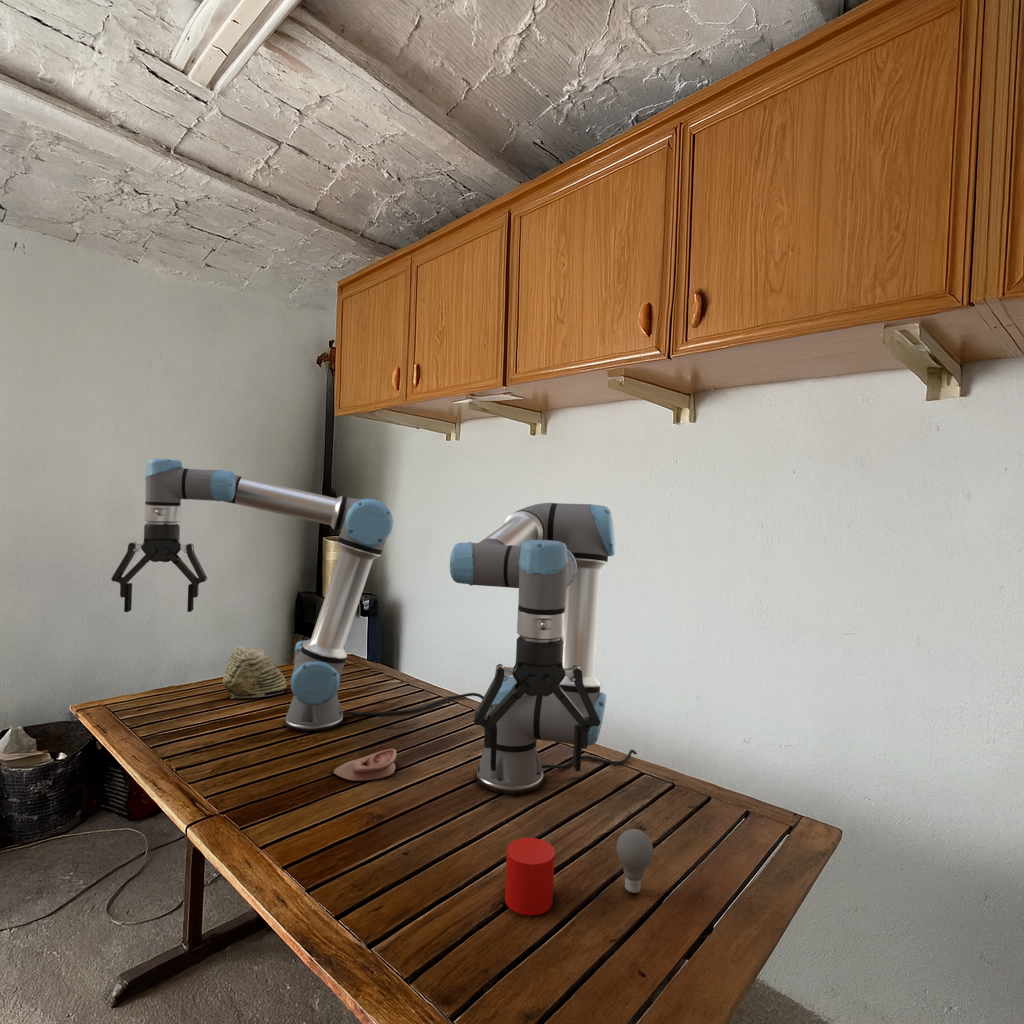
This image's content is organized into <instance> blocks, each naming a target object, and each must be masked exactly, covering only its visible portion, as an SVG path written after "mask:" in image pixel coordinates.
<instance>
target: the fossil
mask: <svg viewBox="0 0 1024 1024" xmlns="http://www.w3.org/2000/svg"><path fill="white" fill-rule="evenodd" d="M222 676H223V677H222V685H223V687H224V688H225V690H226V691H228V693H229V698H230V699H250V698H264V697H271V696H275V695H281V694H284V693H285V691H286V689H287V687H288V686H287V680H286V678H285V676H284V674H283V673H282V672H281V669H279V668H278V667H277V665H276V663H275V662H274V660H273V659H272V658H271V657H270V656H269V655H268V654H267V653H266V652H265V650H264V649H263V648H260V647H258V648H251V647H247V646H246V647H245V646H238V647H237V648H236V649H235V650H233V651H232V653H231V656H230V657H229V659H228V660H227V663H226V666H225V668H224V671H223V675H222Z"/></svg>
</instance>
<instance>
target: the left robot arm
mask: <svg viewBox="0 0 1024 1024" xmlns="http://www.w3.org/2000/svg"><path fill="white" fill-rule="evenodd" d="M144 479H145V502H144V521H145V522H146V523H145V524H144V525H143V542H142V543H137V542H136V541H133V542H132V541H131V542H129V543H128V544H127V550H126V552H125V554H124V557H123V558H122V560H121V561H120V563H119V565H118V566H117V568H116V570H115V571H114V574H113V575H112V576H111V578H110V580H111V581H112V582H116V583H118V584H119V596H120V598H124V606H123V607H124V608H123V612H124V613H129V612H131V611H132V603H133V582H130V581H131V580H132V579H133V577H135V576H136V575H137V574H138V573H139V572H140V571H141V570H142V569H143V568H144V567H145V566H146V565H147V564H148V563H149V562H150V561H151V562H152V563H158V562H162V563H169V562H171V563H172V564H173V565H175V566H176V568H178V570H179V571H180V572H181V573H182V574H183V575H184V577H185V578H186V579H187V580H188V581H189V584H188V585H187V609H186V610H187V613H192V612H193V611H194V601H195V600H194V599H195V598H198V597H199V590H200V589H199V587H200V584H201V583H204V582H206V581H207V580H208V576H207V574H206V572H205V571H204V569H203V567H202V565H201V562H200V561H199V558H198V557H197V555H196V552H195V545H194V543H187V544H181V541H180V534H181V533H180V532H181V525H180V524H178V523H180V522H181V507H182V506H181V505H182V504H181V503H182V500H196V501H213V502H214V501H216V502H224V503H230V504H234V505H239V506H243V507H247V508H252V509H256V510H260V511H265V512H271V513H274V514H279V515H284V516H288V517H293V518H297V519H301V520H306V521H310V522H314V523H319V524H323V525H328V526H330V527H331V529H332V530H333V531H334V530H335V531H338V532H340V533H339V536H338V539H337V542H336V543H337V545H338V547H339V550H340V552H339V555H338V558H337V561H336V564H335V566H334V570H333V572H332V575H331V579H330V581H329V584H328V588H327V590H326V593H325V596H324V600H323V602H322V605H321V608H320V610H319V614H318V617H317V620H316V623H315V626H314V628H313V631H312V634H311V638H310V639H306V640H305V639H304V640H299V641H298V642H296V643H295V648H294V650H293V651H294V666H293V669H292V674H291V676H290V681H289V682H290V683H289V685H290V689H291V692H292V694H293V695H292V696H293V697H292V699H291V702H290V704H289V708H287V709H286V715H285V726H286V728H287V729H289V730H291V731H294V732H295V731H296V732H301V733H316V732H325V731H329V730H332V729H335V728H337V727H339V726H340V725H342V723H343V722H344V715H345V716H355V717H356V716H359V717H360V716H361V717H370V716H373V717H375V716H389V715H390V716H391V715H400V714H409V713H410V714H411V713H416V712H419V711H423V710H426V709H429V708H431V707H433V706H436V705H439V704H441V703H444V702H446V701H451V700H454V699H455V700H456V699H462V698H466V697H467V698H468V697H478V698H480V699H481V700H482V699H483V698H484V696H485V695H483V694H481V693H477V692H468V693H462V694H457V695H451V696H447V697H444V698H442V699H439V700H435V701H433V702H430V703H428V704H426V705H423V706H420V707H415V708H410V709H402V710H391V711H390V710H389V711H371V712H370V711H369V712H368V711H367V712H366V711H365V712H360V711H358V712H357V711H349V710H348V711H345V710H343V709H342V706H341V702H340V699H339V695H338V691H339V689H340V687H341V686H340V685H341V676H342V673H343V670H344V667H345V664H346V660H347V658H348V654H347V651H346V650H345V645H346V642H347V639H348V636H349V633H350V631H351V627H352V624H353V621H354V618H355V616H356V613H357V609H358V606H359V603H360V601H361V597H362V594H363V591H364V588H365V585H366V582H367V581H368V580H367V579H368V576H369V573H370V570H371V568H372V564H373V561H374V560H376V559H378V558H379V557H381V556H382V553H383V550H384V547H385V544H386V542H387V539H388V538H389V536H390V535H391V533H392V530H393V525H394V519H393V515H392V512H391V511H390V508H389V507H388V506H387V505H386V504H385V503H384V502H382V501H381V500H377V499H375V498H357V497H356V498H354V497H348V496H345V495H344V496H343V495H340V496H338V497H337V498H336V497H332V496H328V495H323V494H318V493H315V492H310V491H307V490H306V491H305V490H301V489H298V488H292V487H288V486H284V485H279V484H276V483H271V482H266V481H262V480H258V479H255V478H250V477H245V476H242V475H241V476H240V475H237V474H235V473H234V472H233V471H232V470H224V469H201V468H200V469H197V468H186V467H184V466H183V463H182V461H181V460H180V459H167V458H150V459H149V460H148V461H147V463H146V472H145V476H144ZM140 550H142V552H143V553H144V554H145V555H144V556H142V558H140V560H139V561H138V562H137V563H136V564H135V565H133V567H132V568H131V569H130V570H129V571H128V572H127V573H126V574H125V575H124V573H125V571H126V569H127V568H128V566H129V565H130V563H131V561H132V560H133V558H134V556H135V555H136V553H138V552H139V551H140ZM180 551H183V553H185V554H186V555H187V558H188V560H189V561H190V564H191V566H192V568H193V570H194V571H195V573H194V572H193V571H192V570H191V569H190V568H189V567H188V565H186V563H185V562H184V561H183V560H182V558H181V557H180V556H179V553H180ZM195 574H196V575H197V576H196V575H195ZM123 575H124V576H123Z"/></svg>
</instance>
